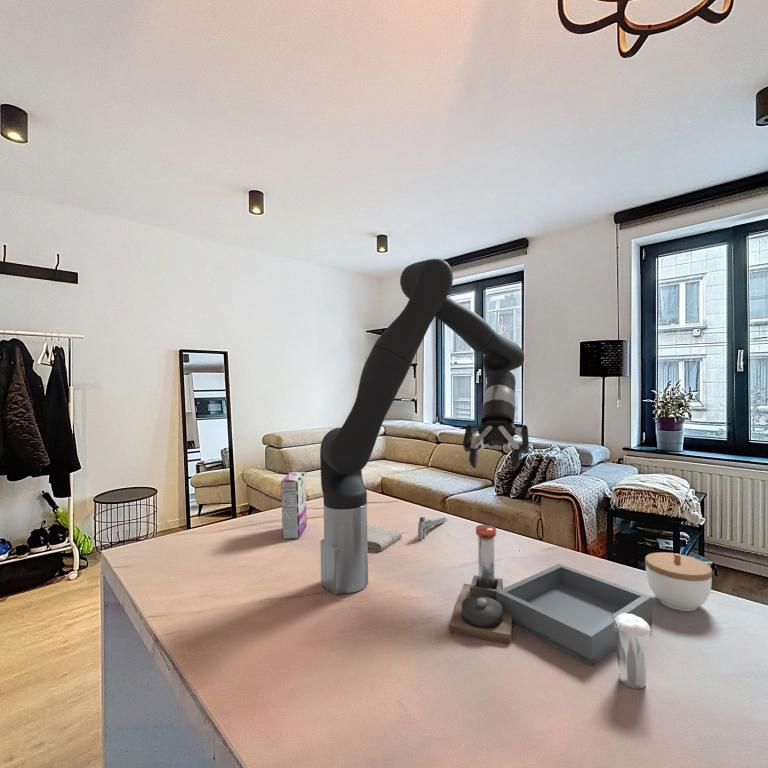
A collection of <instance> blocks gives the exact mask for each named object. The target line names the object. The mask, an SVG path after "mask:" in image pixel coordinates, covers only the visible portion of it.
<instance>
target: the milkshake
mask: <svg viewBox="0 0 768 768" xmlns="http://www.w3.org/2000/svg"><path fill="white" fill-rule="evenodd" d="M610 613H611V612H610ZM611 615H612V618H613V620H614V628H615V637H616V646H617V648H616V655H617V656H616V657H617V666H618V669H617V670H618V677H619V679H620V683H622V684H624V686H626V687H628V688H631V689H635V690H639V689H640V690H641V689H644V688H645V686H646V685H647V675H648V673H647V672H648V661H649V647H650V646H649V645H650V640H651V639H650V638H651V627H650V624H649V625H648V624H647V622H646V621H644V620H643V619H642V618H640V617H637V616H635V615H633V614H626V613H621V614H619V615H618V616H617V617H616V618H615V619H614V617H613V614H612V613H611Z"/></svg>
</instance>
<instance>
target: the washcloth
mask: <svg viewBox="0 0 768 768" xmlns="http://www.w3.org/2000/svg"><path fill="white" fill-rule="evenodd" d="M402 536H403V534H402V532H401V531H398V530H396V529H389V528H385V527H382V526H381V527H380V526H376V525H371V524H367V544H368V550H369V551H374V552H382V551H384V550H385V549H387V548H388V547H389V546H391V545H393V544H395V543H396V542H398V541H399V540H401V539H402Z"/></svg>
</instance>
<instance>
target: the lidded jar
mask: <svg viewBox="0 0 768 768" xmlns="http://www.w3.org/2000/svg"><path fill="white" fill-rule="evenodd" d="M644 563H645V574H646V580H647V582H648V586H649V588H650V590H651V592H652V593H653V595H655V597H657V599H658V600H659V602H660V603H661V604H663V606H666V607H668V608H670V609H673V610H676V611H682V612H694V611H696V610H697V609H698V608H699V607H701V606H702V605H704V604H705V603H706V602H707V601H708V598H709V596H710V593H711V591H712V582H713V581H712V580H713V579H712V577H713V568H712V567H711V566H710V565H709V563H707V562H704V561H702V560H700V559H698V558H696V557H695V558H694V557H693V556H689V555H684V554H680V553H674V552H664V551H663V552H662V551H661V552H651V553H648V554H647V555H646V556H645V558H644Z"/></svg>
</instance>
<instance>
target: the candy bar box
mask: <svg viewBox="0 0 768 768" xmlns="http://www.w3.org/2000/svg"><path fill="white" fill-rule="evenodd" d="M280 487H281V490H280V491H281V492H280V493H281V494H280V495H281V496H280V497H281V515H282V516H281V517H282V518H281V519H282V522H281V523H282V539H283V540H295V539H296V540H297V539H300V538H301V537H302V535H303V532H305V530H306V527H307V499H306V498H307V494H306V490H307V489H306V488H307V487H306V472H304V471H296V472H295V471H292V472H289V473H288V474H287V475H286V476H285V477H284V478H283V479H282V480H281V481H280Z"/></svg>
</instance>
